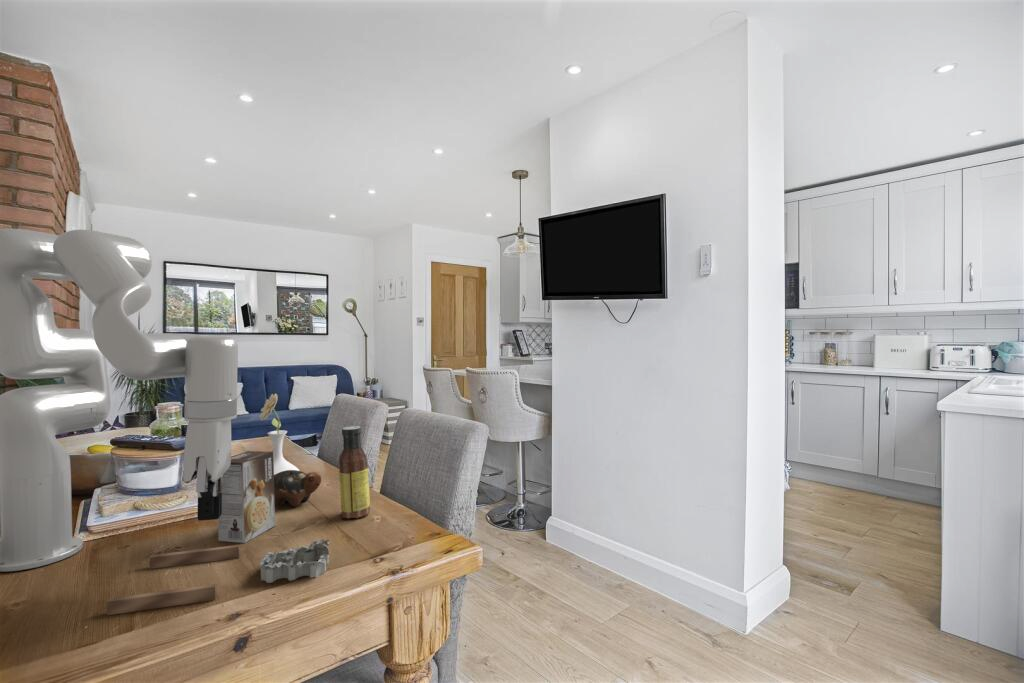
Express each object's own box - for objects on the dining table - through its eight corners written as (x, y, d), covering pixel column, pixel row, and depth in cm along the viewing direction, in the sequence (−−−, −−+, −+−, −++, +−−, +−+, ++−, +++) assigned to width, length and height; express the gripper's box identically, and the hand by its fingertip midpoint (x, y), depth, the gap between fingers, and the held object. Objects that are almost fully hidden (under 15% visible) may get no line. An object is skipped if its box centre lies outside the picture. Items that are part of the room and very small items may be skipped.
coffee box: (250, 524, 107) (248, 450, 107) (276, 526, 106) (274, 451, 106) (216, 541, 98) (215, 460, 98) (245, 544, 97) (243, 462, 97)
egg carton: (332, 560, 90) (332, 538, 90) (323, 580, 83) (323, 556, 83) (269, 565, 88) (269, 542, 88) (255, 586, 81) (254, 561, 81)
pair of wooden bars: (107, 615, 72) (106, 601, 72) (152, 566, 88) (151, 555, 88) (215, 599, 76) (215, 586, 76) (240, 555, 92) (240, 544, 92)
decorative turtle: (313, 510, 115) (313, 476, 115) (249, 510, 115) (248, 476, 115) (329, 496, 125) (329, 465, 125) (270, 497, 125) (269, 465, 125)
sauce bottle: (373, 509, 115) (371, 424, 115) (366, 519, 109) (364, 429, 108) (344, 510, 115) (343, 424, 114) (335, 520, 109) (334, 430, 108)
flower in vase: (259, 477, 142) (257, 390, 142) (302, 473, 145) (301, 388, 145) (250, 491, 130) (248, 396, 129) (297, 487, 133) (295, 394, 133)
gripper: (200, 403, 89) (198, 504, 90) (168, 418, 75) (167, 538, 75) (246, 402, 91) (244, 501, 92) (224, 417, 77) (222, 534, 77)
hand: (209, 517), depth 84 cm, fingers closed
